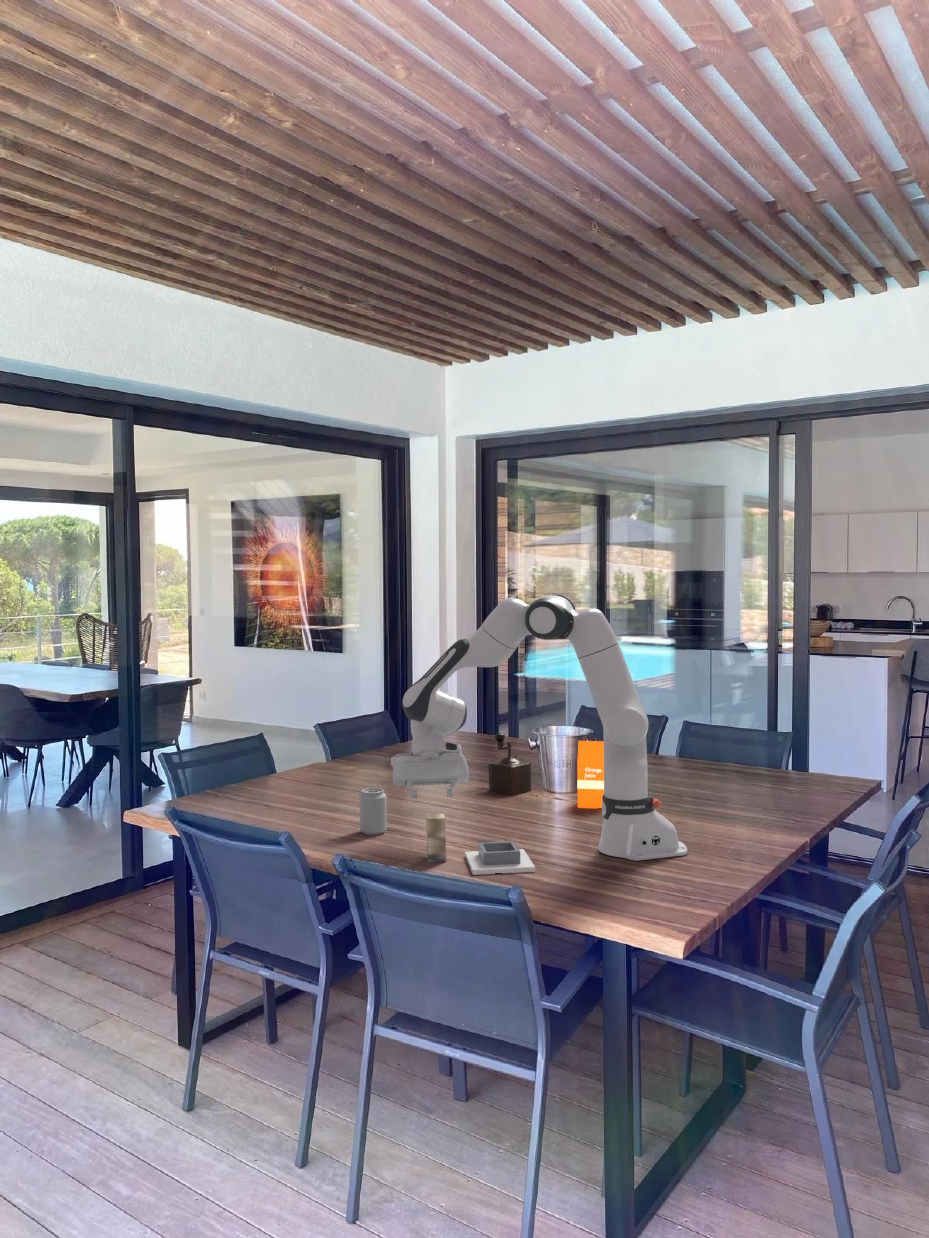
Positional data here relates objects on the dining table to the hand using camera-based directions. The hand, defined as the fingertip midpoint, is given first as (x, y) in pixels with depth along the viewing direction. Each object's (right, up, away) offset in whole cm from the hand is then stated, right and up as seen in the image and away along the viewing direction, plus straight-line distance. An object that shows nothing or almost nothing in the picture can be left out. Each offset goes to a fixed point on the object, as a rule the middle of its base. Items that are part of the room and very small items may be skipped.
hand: (432, 797), depth 241 cm
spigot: (+1, -14, -9) cm, 17 cm away
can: (-17, -13, +17) cm, 28 cm away
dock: (+17, -14, -13) cm, 25 cm away
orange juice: (+48, -11, +45) cm, 67 cm away
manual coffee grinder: (+22, -11, +68) cm, 73 cm away
